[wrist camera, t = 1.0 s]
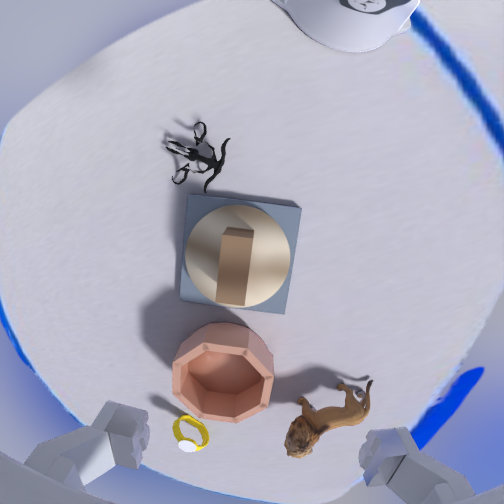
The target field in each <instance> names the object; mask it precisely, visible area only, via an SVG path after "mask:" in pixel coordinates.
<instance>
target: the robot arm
mask: <svg viewBox="0 0 504 504" xmlns="http://www.w3.org/2000/svg"><path fill="white" fill-rule="evenodd" d="M272 1H273V2H274V3H276V4H277V5H279V6H280V7H282V8H283V9H285V10H286V11H287V12H288V13H289V14H290V16H291V17H292V19H293V20H294V22H295V23H296V24H297V25H298V27H299V28H300V29H301V30H302V31H303V32H305V33H306V34H307V35H308V36H309V37H311V38H312V39H314V40H316V41H317V42H319V43H321V44H323V45H325V46H328V47H330V48H333V49H336V50H340V51H346V52H366V51H371V50H374V49H376V48H378V47H380V46H382V45H383V44H384V43H386V42H387V41H388V40H389V39H390V38H391V37H392V36H393V35H397V34H401V33H404V32H407V31H408V30H409V28H410V27H411V22H410V18H409V17H410V15H411V14H412V13H413V11H414V10H415V9H416V7H417V6H418V5H419V3H420V0H272ZM147 421H148V412H147V411H146V410H142V409H138V408H134V407H131V406H127V405H123V404H119V403H116V402H112V401H108V402H106V403H105V405H104V406H103V408H102V409H101V411H100V412H99V414H98V416H97V417H96V419H95V420H94V422H93V423H92V425H91V426H84V427H82V428H79V429H77V430H74V431H72V432H69V433H67V434H64V435H62V436H59V437H56V438H54V439H52V440H48V441H46V442H43V443H41V444H38V445H37V447H36V448H35V449H34V451H33V452H32V453H31V455H30V456H29V457H28V459H27V460H26V461H25V463H24V464H22V463H20V462H18V461H16V460H15V459H13V458H11V457H9V456H8V455H6V454H4V453H3V452H1V451H0V504H117V503H114V502H111V501H108V500H105V499H102V498H99V497H96V496H94V495H91V494H88V493H87V492H86V490H85V488H84V485H86V484H87V483H89V482H91V481H92V480H94V479H95V478H97V477H99V476H100V475H102V474H103V473H105V472H106V471H108V470H109V469H111V468H112V467H114V466H115V464H117V465H121V466H124V467H128V468H132V469H136V470H138V468H139V465H140V463H141V460H142V458H143V457H142V451H144V450H146V448H147V445H148V441H149V433H150V430H149V426H148V425H147V424H146V423H147ZM366 439H367V442H365V443H364V444H363V445H362V446H361V449H360V451H359V463H360V467H362V468H363V469H364V470H366V471H365V472H364V474H363V476H364V479H365V482H366V485H367V487H372V486H382V485H387V487H388V488H389V489H391V490H392V491H393V492H394V493H395V494H396V495H397V496H398V497H400V498H401V499H402V500H403V501H404V502H405V503H407V504H504V484H502V485H499V486H497V487H495V488H492V489H490V490H487V491H485V492H482V493H480V494H477V495H475V493H474V491H473V489H472V488H471V486H470V484H469V483H468V481H467V479H466V477H465V476H463V475H462V474H460V473H458V472H456V471H455V470H453V469H451V468H449V467H448V466H446V465H444V464H442V463H441V462H439V461H437V460H435V459H434V458H432V457H430V456H429V455H427V454H425V453H420V451H419V449H418V447H417V445H416V444H415V442H414V440H413V438H412V436H411V434H410V433H409V431H408V429H407V428H406V427H399V428H389V429H377V430H370V431H369V432H368V434H367V436H366Z"/></svg>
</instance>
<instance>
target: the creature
mask: <svg viewBox="0 0 504 504" xmlns="http://www.w3.org/2000/svg"><path fill="white" fill-rule="evenodd" d="M198 123H202V124H203V125H204V133H203V134H202V136H201V137H200V138H198V137H195V136H196V132H195V130H194V133H195V136H194V138H195V139H196V146H197V145H198V144H199V142H201V143H202V141H203V138H204V137H205V135H206V134H207V131H206V125H205V124H204V123H203V122H198ZM198 123H196V124H198ZM196 124H195V125H196ZM194 127H195V126H194ZM228 140H230V138H228V139H226V140H225V141H224V143H223V144H222V146H221V152H222V157H221V159H220V160H219V161H217V159H216V156H215V152H214V148H213V147H212V146H210V145H209V144H208V143H207V142H206V143H207V144H208V145H209V147H210V148H211V149H212V151H213V156H212V158H206V157H203V156H201V155H199V152H198V150H197V149H194V148H187V149H188V150H189V151H190V152H186V153H188V154H189V156H188V155H183V154H181V153H179V152H177V151H175V150H173V149H170V148H168V147H166V148H167V149H168V150H169V151H171V152H172V153H175V154H180V155H183V156H184V157H186V158H188V159H189V160H190V161H195V160H200V161H202V162H204V163H205V164H207V165H208V167H207V169H206V170H205V171H202V172H198V173H202V174H203V173H204V172H206V171H208V170H210V169H212V168H214V174H213V175H212V176H211V177H210V178H208V179H207V181H206V182H205V185H204V192H205V193H206V188H207V186H208V184H209V183H210V182H211V181H212V180H213V179H214V178H215V177H216V176H217V174H219V173H220V172H221V168H222V166H223V165H224V161H225V154H226V152H225V147H226V143H227V142H228ZM168 142H170V143H173V144H175V145H177V146H180V147H184V146H182V145H181V144H180V143H178V142H175V141H168ZM184 148H186V147H184ZM176 149H177V148H176ZM179 150H180V149H179ZM181 151H182V150H181ZM184 152H185V151H184ZM187 166H188V167H189V163H188V164H187V165H186V166H185V167H187ZM185 167H183V168H180V170H182V171H185V174H184V179H182V180H181V181H180V182H179V183H176V182H174V181H173V182H174V183H175V184H177V185H178V184H181V183H182V182H184V181H185V180H186V178H187V174H188V172H189V170H191V169H187V168H185ZM189 168H190V167H189ZM180 170H178V171H180ZM178 171H176V172H178ZM191 171H192V170H191ZM192 172H193V171H192ZM193 173H196V172H193ZM172 180H173V176H172Z"/></svg>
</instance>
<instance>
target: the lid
mask: <svg viewBox="0 0 504 504" xmlns="http://www.w3.org/2000/svg"><path fill="white" fill-rule="evenodd" d="M185 261H186V267H187V271H188V274H189V276H190V278H191V280H192V282H193V284H194V285H195V286H196V288H197V289H198V290H199V291H200V292H201V293H202V294H203V295H204V296H206V297H207V298H208V299H210V300H212V301H213V302H215V303H218V304H220V305H223V306H227V307H234V308H244V307H250V306H254V305H257V304H259V303H262V302H264V301H265V300H267V299H269V298H270V297H271V296H273V295H274V294H275V293H276V292H277V291H278V290H279V288H280V287H281V286H282V284H283V283H284V281H285V279H286V276H287V274H288V271H289V266H290V249H289V244H288V241H287V238H286V236H285V234H284V232H283V230H282V229H281V227H280V226H279V224H278V223H277V222H276V221H275V220H274V219H273V218H272V217H271V216H269V215H268V214H266V213H265V212H263V211H261V210H259V209H257V208H254V207H251V206H246V205H229V206H224V207H221V208H218V209H216V210H214V211H212V212H210V213H209V214H207V215H206V216H205V217H203V218H202V219H201V220H200V221H199V222H198V223H197V224H196V226H195V227H194V228H193V230H192V232H191V233H190V236H189V238H188V241H187V244H186V251H185Z"/></svg>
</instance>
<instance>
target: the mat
mask: <svg viewBox="0 0 504 504" xmlns="http://www.w3.org/2000/svg"><path fill="white" fill-rule="evenodd" d="M229 205H246V206H251V207H254V208H257V209H259V210H261V211H263V212H265V213H266V214H268V215H269V216H271V217H272V218H273V219H274V220H275V221H276V222H277V223H278V224H279V226H280V227H281V229H282V230H283V232H284V234H285V236H286V238H287V241H288V244H289V249H290V266H289V271H288V274H287V276H286V279H285V281H284V283H283V284H282V286H281V287H280V288H279V290H278V291H277V292H276V293H275V294H274V295H273V296H271V297H270V298H269V299H267V300H265V301H264V302H262V303H259V304H257V305H254V306H250V307H244V308H236V309H244V310H252V311H260V312H268V313H276V314H284V313H285V308H286V302H287V297H288V291H289V285H290V279H291V273H292V268H293V261H294V255H295V249H296V243H297V237H298V230H299V224H300V217H301V210H302V208H299V207H292V206H285V205H278V204H271V203H263V202H255V201H248V200H240V199H232V198H223V197H215V196H206V195H197V194H188V200H187V210H186V220H185V231H184V243H183V256H182V270H181V286H180V300H181V301H187V302H194V303H201V304H207V305H214V306H222V307H227V306H223V305H220V304H218V303H215V302H213V301H212V300H210V299H208V298H207V297H206V296H204V295H203V294H202V293H201V292H200V291H199V290H198V289H197V288H196V286H195V285H194V284H193V282H192V280H191V278H190V276H189V274H188V271H187V267H186V261H185V251H186V244H187V241H188V238H189V236H190V233H191V232H192V230H193V228H194V227H195V226H196V224H197V223H198V222H199V221H200V220H201V219H202V218H203V217H205V216H206V215H207V214H209V213H210V212H212V211H214V210H216V209H218V208H221V207H224V206H229ZM229 308H234V307H229Z"/></svg>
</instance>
